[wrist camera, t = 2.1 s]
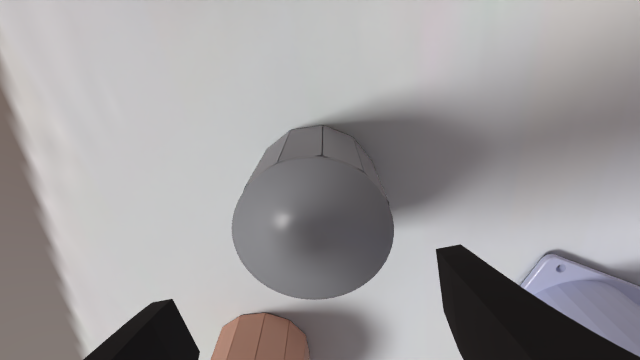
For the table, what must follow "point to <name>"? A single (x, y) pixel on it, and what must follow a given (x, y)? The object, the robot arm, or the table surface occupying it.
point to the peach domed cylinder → (261, 339)
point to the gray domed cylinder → (313, 216)
